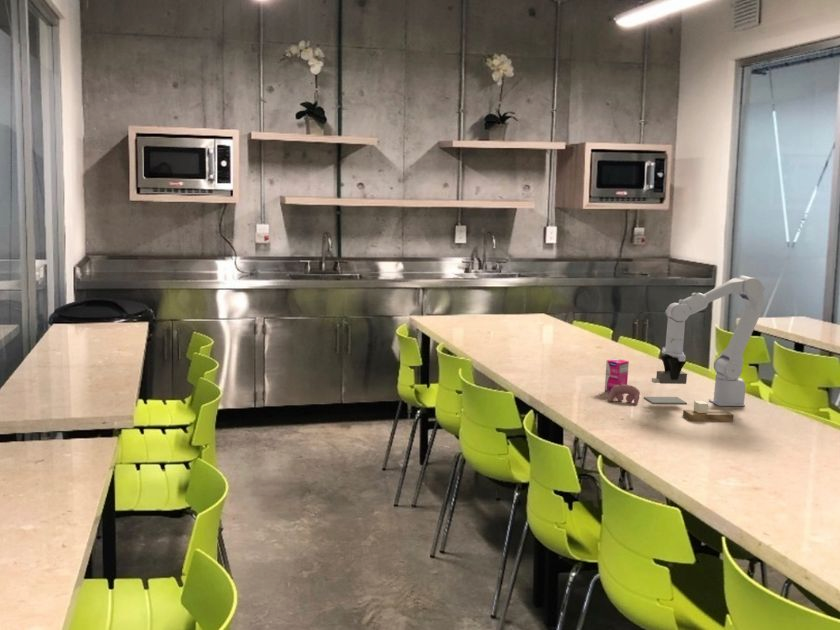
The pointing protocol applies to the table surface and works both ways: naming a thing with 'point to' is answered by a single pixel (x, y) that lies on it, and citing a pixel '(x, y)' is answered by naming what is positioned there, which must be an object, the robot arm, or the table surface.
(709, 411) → the switch block
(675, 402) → the mat
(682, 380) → the bar
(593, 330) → the table surface
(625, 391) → the mauve arch
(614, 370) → the supplement box
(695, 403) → the switch tab
